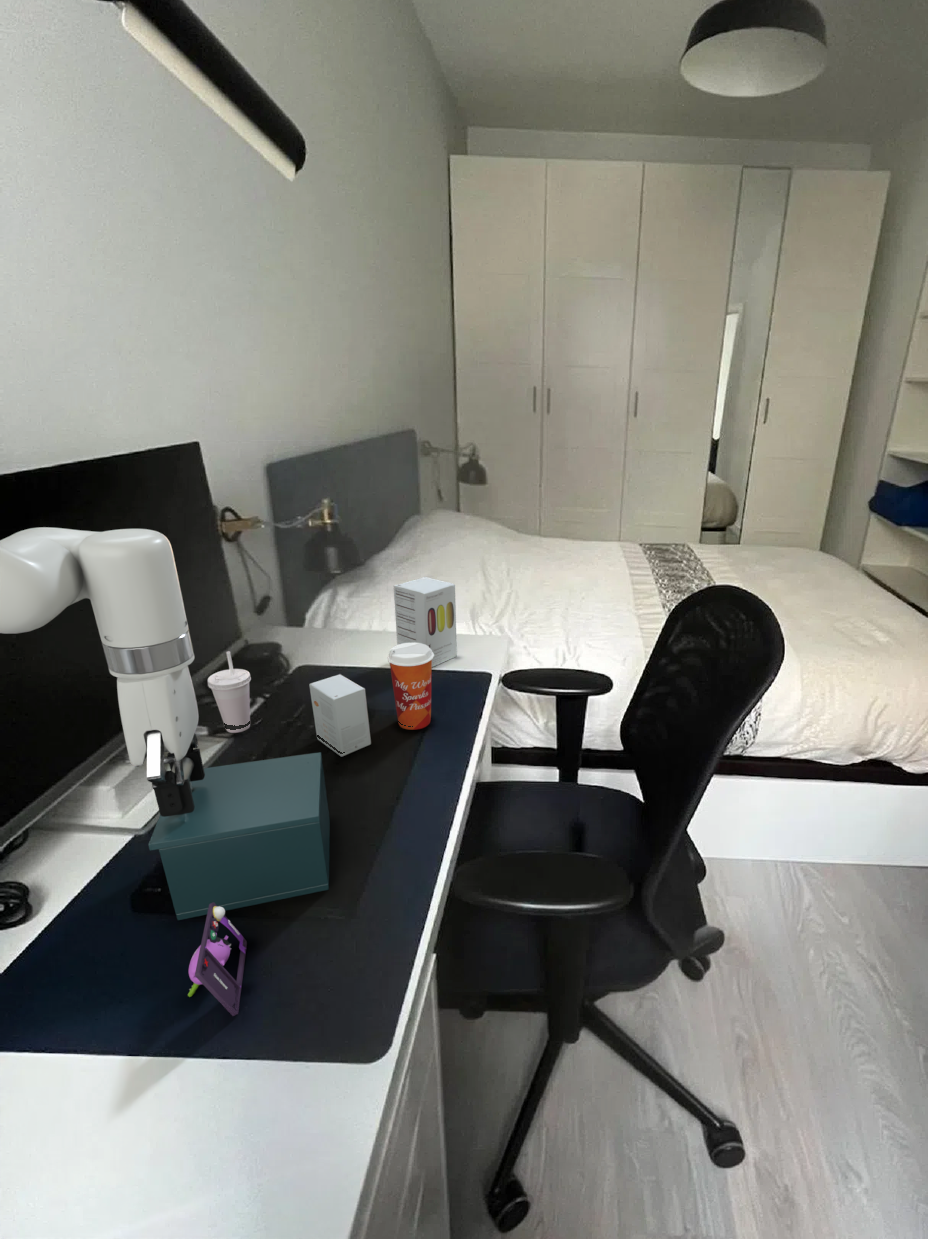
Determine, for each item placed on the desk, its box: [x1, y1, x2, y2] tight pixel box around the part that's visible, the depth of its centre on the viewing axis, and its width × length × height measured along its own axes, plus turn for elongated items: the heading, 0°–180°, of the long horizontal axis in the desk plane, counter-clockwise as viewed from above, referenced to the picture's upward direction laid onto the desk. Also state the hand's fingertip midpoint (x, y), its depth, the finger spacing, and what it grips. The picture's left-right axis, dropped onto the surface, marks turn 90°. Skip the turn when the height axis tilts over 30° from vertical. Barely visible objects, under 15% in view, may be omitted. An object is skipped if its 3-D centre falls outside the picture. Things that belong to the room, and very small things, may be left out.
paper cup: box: [386, 643, 434, 731], centre depth 109 cm, size 8×8×14 cm
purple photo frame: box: [187, 902, 248, 1017], centre depth 62 cm, size 7×5×9 cm
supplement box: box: [393, 576, 458, 668], centre depth 135 cm, size 10×9×17 cm
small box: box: [308, 673, 372, 757], centre depth 103 cm, size 8×6×10 cm
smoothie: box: [207, 650, 252, 734], centre depth 105 cm, size 6×6×14 cm
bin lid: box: [148, 752, 323, 851], centre depth 73 cm, size 17×14×5 cm
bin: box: [158, 758, 331, 921], centre depth 76 cm, size 16×14×10 cm
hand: (184, 794), depth 72 cm, fingers open, 5 cm apart
